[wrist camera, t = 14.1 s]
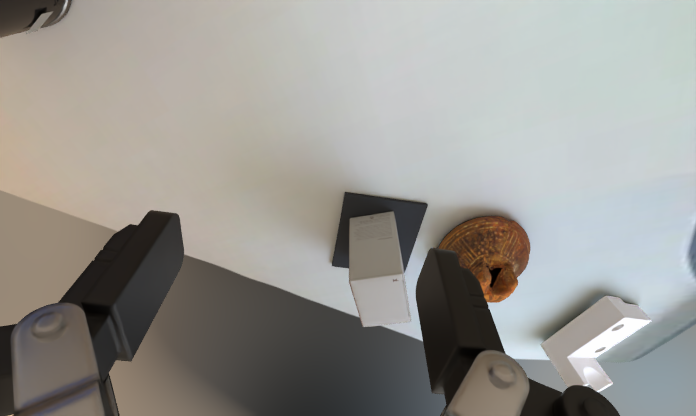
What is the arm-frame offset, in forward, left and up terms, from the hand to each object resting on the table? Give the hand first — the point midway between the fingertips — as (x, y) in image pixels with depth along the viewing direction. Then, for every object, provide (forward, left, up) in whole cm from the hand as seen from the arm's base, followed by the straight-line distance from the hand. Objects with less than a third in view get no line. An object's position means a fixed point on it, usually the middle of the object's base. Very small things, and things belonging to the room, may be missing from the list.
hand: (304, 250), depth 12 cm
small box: (+8, -22, -28) cm, 36 cm away
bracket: (+44, -34, -28) cm, 62 cm away
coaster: (+8, -22, -28) cm, 36 cm away
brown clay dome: (+22, -22, -28) cm, 42 cm away
